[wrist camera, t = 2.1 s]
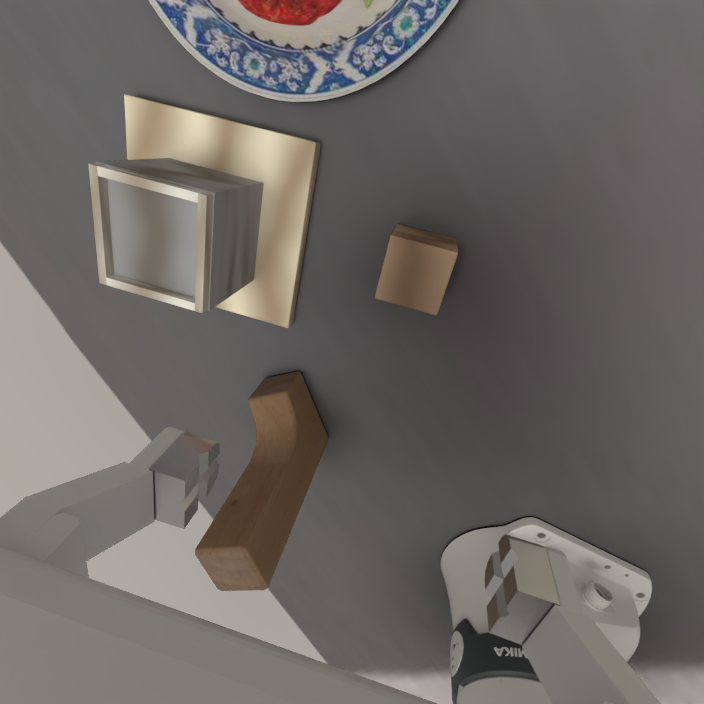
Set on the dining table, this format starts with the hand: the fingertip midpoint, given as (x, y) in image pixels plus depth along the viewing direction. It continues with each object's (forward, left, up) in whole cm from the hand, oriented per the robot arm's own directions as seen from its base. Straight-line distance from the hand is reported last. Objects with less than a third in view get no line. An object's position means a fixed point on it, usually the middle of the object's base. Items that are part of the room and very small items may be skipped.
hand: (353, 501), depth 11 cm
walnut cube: (0, 0, -27) cm, 27 cm away
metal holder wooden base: (+18, +1, -27) cm, 32 cm away
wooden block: (+8, +19, -27) cm, 34 cm away
